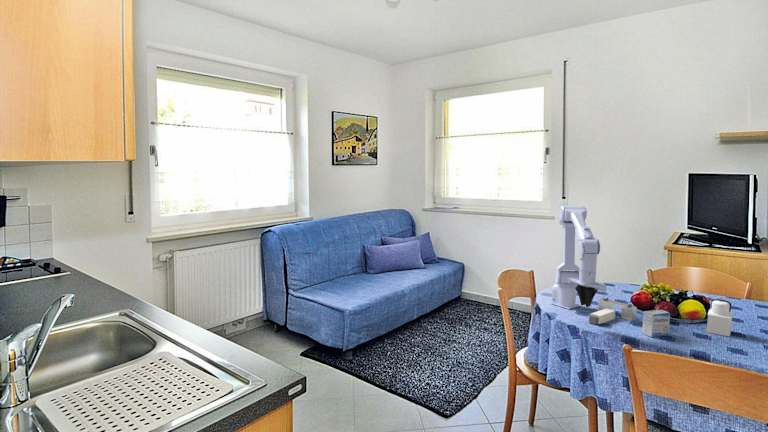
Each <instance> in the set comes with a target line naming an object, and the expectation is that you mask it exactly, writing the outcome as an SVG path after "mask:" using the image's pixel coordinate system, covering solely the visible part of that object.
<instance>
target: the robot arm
mask: <svg viewBox="0 0 768 432" xmlns="http://www.w3.org/2000/svg"><path fill="white" fill-rule="evenodd" d="M558 212H559V213H558V222H559V223H558V224H559V225H561V226H562V229H563V231H562V233H563V234H562V235H563V238H562V239H563V240H562V241H563V242H562V263H560V264H559V265H557V266H556V268H555V272H554V273H555V274H554V280H555V283H554V284H553V286H552V288H551V290H552V291H551V292H552V293H551V301H550V305H555V306H557V307H561V308H564V309H568V310H571V309H575V308H578V307H580V306H585V307H586V308H589V307H591V305H592V302H593V299H594V297H595V296H596V294H597V292H598V291H600V292H603V293H604V292H607V289H608V287H607V285H605V284H602V283H599V282H597V281H596V278H597V264H598V263H597V262H598V261H597V260H598V255H599V254H600V252H601V243H600V241H599V239H598V238H596V237H594V234H593V232H592V229H591V228H590V227H589V226H587V224H586V219H587V216H588V215H587V213H588V212H587V208H586V207H585V205H582V206H580V205H576V206H575V205H572V206H571V205H569V206H568V205H561V206H560V207H559V210H558ZM576 238H577V242H578V258H579V265H577V264H576V263H575V261H576V259H575V258H576V254H575V253H576ZM577 295H578V298H579V304H578V303H576V301H577V300H576V299H577Z"/></svg>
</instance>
